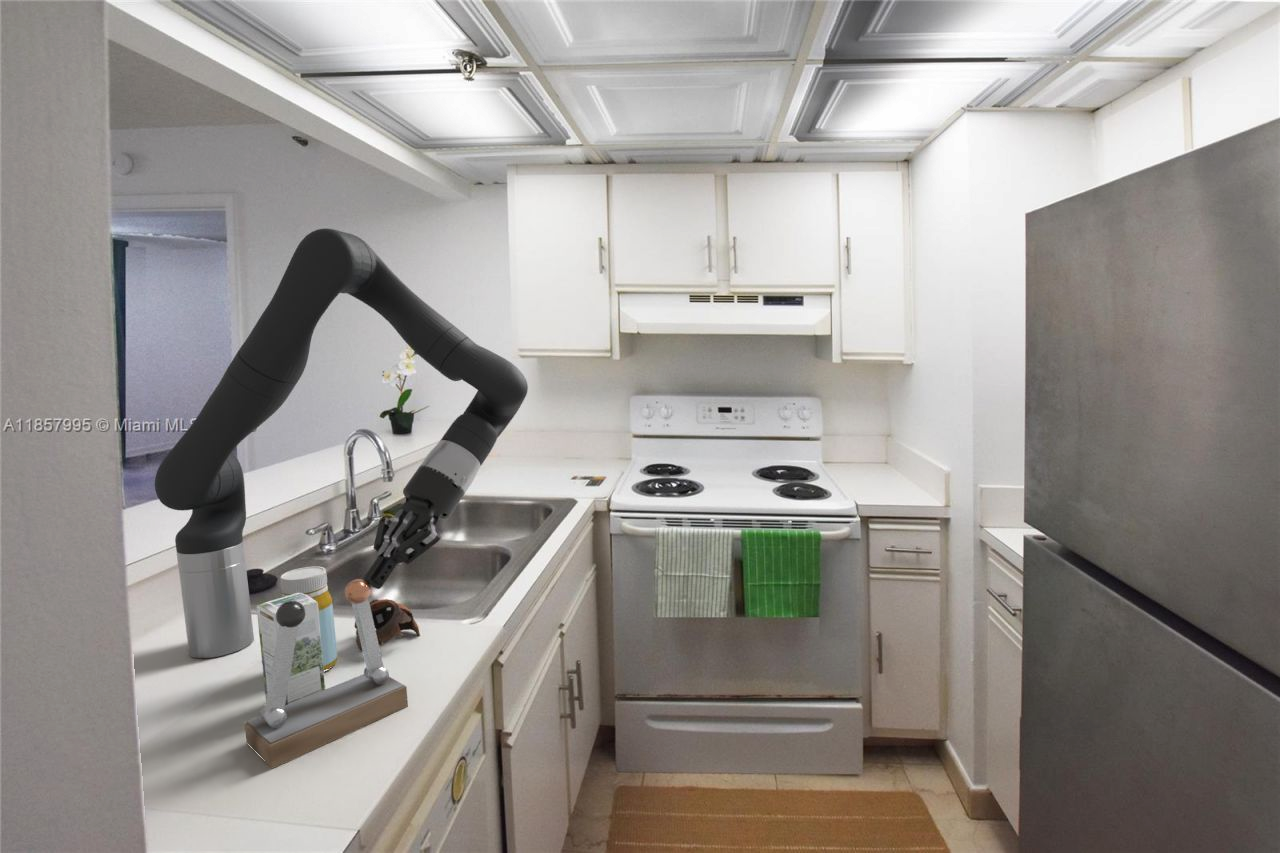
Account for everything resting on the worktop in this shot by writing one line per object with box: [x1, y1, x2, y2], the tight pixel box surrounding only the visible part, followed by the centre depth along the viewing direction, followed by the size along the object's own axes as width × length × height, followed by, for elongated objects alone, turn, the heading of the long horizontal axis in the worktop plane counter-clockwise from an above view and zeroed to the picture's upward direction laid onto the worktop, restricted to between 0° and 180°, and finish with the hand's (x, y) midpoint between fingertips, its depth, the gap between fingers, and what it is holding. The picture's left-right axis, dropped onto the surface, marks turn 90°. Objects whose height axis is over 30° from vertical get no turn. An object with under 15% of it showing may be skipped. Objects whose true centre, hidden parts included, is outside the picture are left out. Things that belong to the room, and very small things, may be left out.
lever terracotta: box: [344, 578, 390, 685], centre depth 89 cm, size 3×3×15 cm
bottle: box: [280, 566, 338, 670], centre depth 101 cm, size 7×7×15 cm
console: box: [244, 673, 409, 769], centre depth 85 cm, size 8×17×3 cm, turn 139°
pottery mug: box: [354, 598, 421, 652], centre depth 110 cm, size 12×10×8 cm
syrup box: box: [256, 593, 326, 705], centre depth 91 cm, size 6×6×14 cm
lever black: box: [259, 601, 305, 728], centre depth 81 cm, size 3×3×15 cm
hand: (370, 585), depth 89 cm, fingers closed
